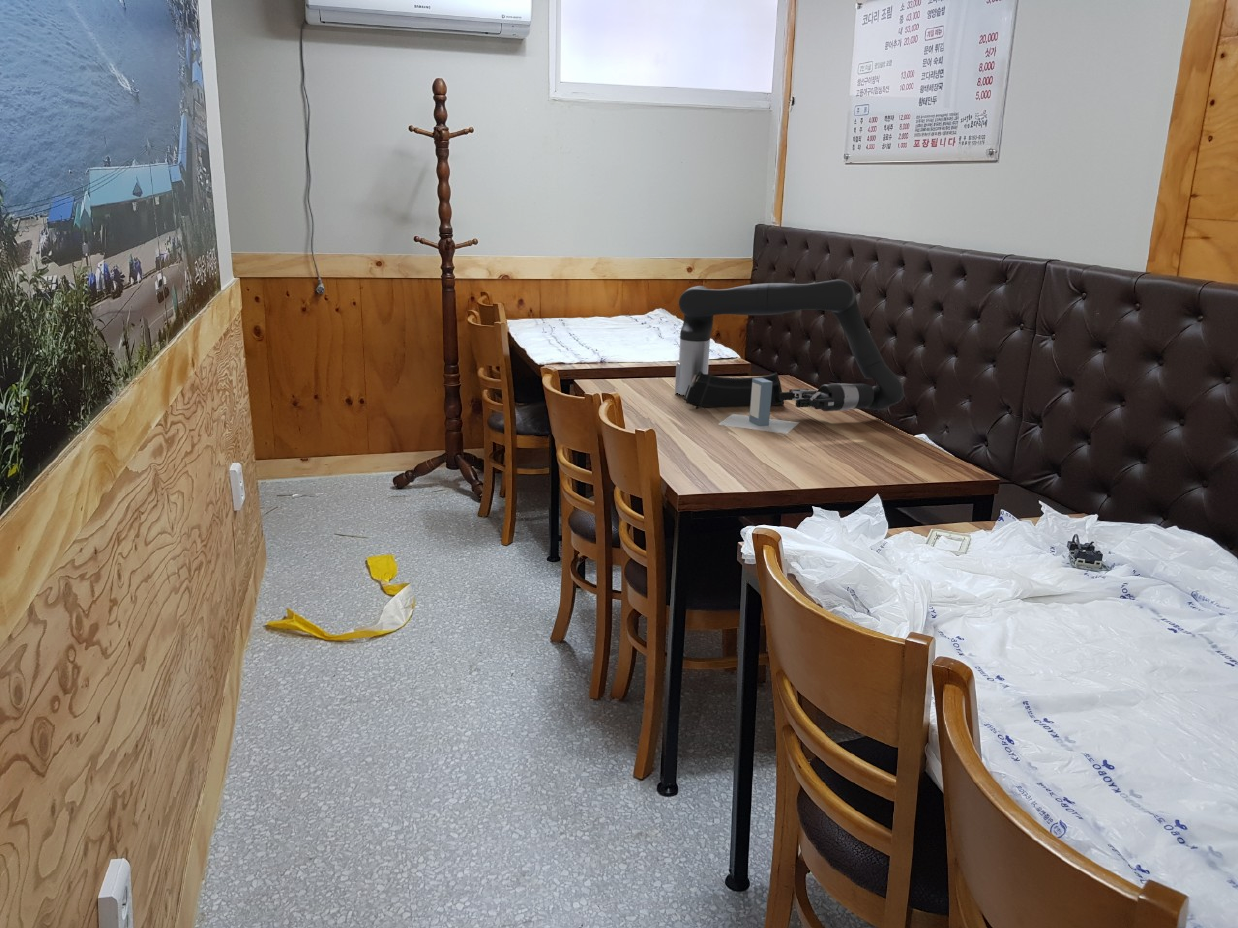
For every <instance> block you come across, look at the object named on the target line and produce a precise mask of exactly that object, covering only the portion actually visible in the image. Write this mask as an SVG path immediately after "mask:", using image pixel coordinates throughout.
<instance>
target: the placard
mask: <svg viewBox="0 0 1238 928" xmlns="http://www.w3.org/2000/svg"><path fill="white" fill-rule="evenodd" d="M771 394H772V381H769V380H766V379H764V378H752V389H751V402H750V406H749V414H748V416H749V422H751V423H753V424H755V425H758V426H769V419H771V418H770V417H771V407H772V406H771Z"/></svg>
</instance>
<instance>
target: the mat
mask: <svg viewBox="0 0 1238 928" xmlns="http://www.w3.org/2000/svg"><path fill="white" fill-rule="evenodd" d="M799 423H800V422H799V421H791V420H783V419H774V418H769V426H758V425H755V424H753V423H751V422H749V415H743V414H735V413H732V414H731V415H729V416H727V417H726V418H725V419H723V420H722V421H720V422H719V423H718V424H717V425H719V426H726V427H732V428H733V427H734V428H741V429H748V430H749V429H750V430H754V431H762V432H768V433H769V432H770V433H778V434H784V435H785V434H786V435H788V434H789V433H790V432H791V431H793V429H794V428H795V427H796V426H797V425H799Z"/></svg>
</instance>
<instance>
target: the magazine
mask: <svg viewBox="0 0 1238 928" xmlns="http://www.w3.org/2000/svg"><path fill="white" fill-rule="evenodd" d="M752 378H764V379H766V380H769V381H772V394H771V406H770V407H773V406H780V405H784V404H785V400H783V401H781V400H779V394H780V393H781V392H783V390H782V384H781V381H780V378H779V374H778V372H774V373H770V374H768V375H767V374H766V375H762V376H754V377H753V376H752V377H751V376H750V377H749V376H748V377H723V376H717V375H713V374H712V375H711V374H709V373H708V374H703V372H700V371H699V372H698V375H697V376H696V375H695V376H694V378H693V380H692V382H691V384H690V385H689V386H688V388H687V391H686V394H685V396H683V400H684V401H685V403H686V404H688V405H690V406H694V407H695V410H699V409H700V408H703V409H714V408H715V409H716V408H717V409H718V408H736V407H737V408H739V407H742V408H743V407H745V408H746V407H750V402H751V389H752Z"/></svg>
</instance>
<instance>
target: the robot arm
mask: <svg viewBox="0 0 1238 928" xmlns="http://www.w3.org/2000/svg"><path fill="white" fill-rule="evenodd" d="M857 301H858V300H857V297H856V291H855V288H854V287H853V286H852V285H851V283H849V282H848V281H846V280H843V279H832V280H825V281H819V282H813V283H790V282H789V283H788V282H787V283H786V282H770V283H769V282H768V283H767V282H766V283H753V284H745V285H741V286H740V285H739V286H735V287H731V288H723V289H713V288H710V289H709V288H708V287H706V286H704V285H697V286H692V287H689V288H688V289H686V290H685V291H683V293H681V295H680V296H679V299H678V307H679V311H681V313H682V314H684V315H683V316H684V317H683V323H682V326H681V329H680V333H679V334H680V335H679V352H678V362H676V365H675V383H674V386H675V387H674V394H675V393H678V394H677V395H679V394H680V396H683V395H684V396H683V397H685V394H686V391H687V388H688V386H689V385H690V384H691V382H692V380H693V378H694V376H695V375H696V376H697V375H698V372H699V371H700V372H703V374H709V359H710V346H711V335H712V334H711V333H712V331H713V330H712V329H713V324H714V323H713V322H714V316H720V315H736V316H738V315H739V316H774V315H781V314H783V315H784V314H786V313H794V312H796V311H797V312H798V311H804V310H806V311H807V310H810V311H811V310H813V311H814V310H815V311H828V312H829V311H830V312H831V313H832V314H833V315H834V317H835V319H836V320H837V321H838V323H839V325H840V327H841V329H842V330H843V333H844V335H845V337H846V339H847V343H848V345H849V348H850V351H851V354H852V356H853V358H854V359H855V363H856V364H857V366H858V368H859V370H860V373H861V374H862V376H863V377H864V379H867V380H873V381H875V383H876V384H877V385H874V386H871V385H869V384H867V383H827V384H821V386H820V387H819V388H818V390H816V389H810V390H809V388H796V389H795V388H794V389H793V388H790V389H789V390H788V391H782V392H781V393H780V394H779V400H781V401H783V400H784V401H795V407H796V408H810V409H813V408H814V409H815V410H821V411H823V412H835V411H836V412H837V411H848V410H854V409H855V410H856V409H867V410H876V411H877V410H878V411H879V410H884V409H887V408H889V407H891V406H895V405H896V404H898V403H900V402H901V401H902V400H903V399H904V396H905V391H904V386H903V384H902V382H901V381H900V379H899V378H898V377H897V375H896V374H895V373H894V372H893V371H892V370H891V369H890V368H889V366H888V365H887V364H886V362H885V360H884V358H883V355H882V354H881V352H880V350H879V348H878V346H877V344H876V341H875V340H874V338H873V337H872V335H871V333H870V331H869V329H868V327H867V325H866V323H865V321H864V318H863V316H862V314H861V311H860V307H859V305H858V302H857Z"/></svg>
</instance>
